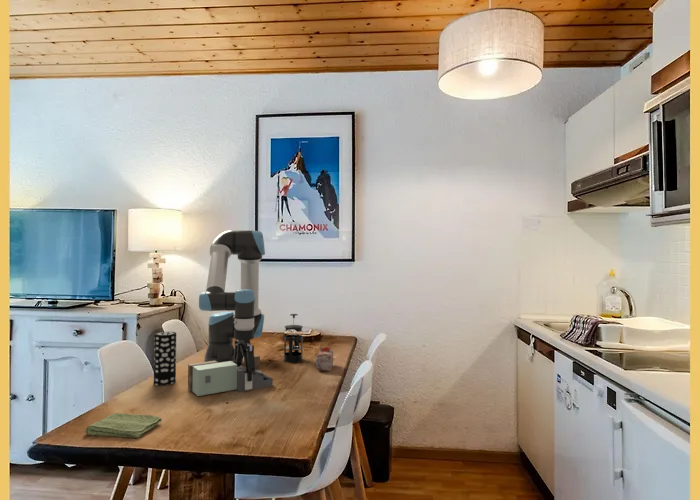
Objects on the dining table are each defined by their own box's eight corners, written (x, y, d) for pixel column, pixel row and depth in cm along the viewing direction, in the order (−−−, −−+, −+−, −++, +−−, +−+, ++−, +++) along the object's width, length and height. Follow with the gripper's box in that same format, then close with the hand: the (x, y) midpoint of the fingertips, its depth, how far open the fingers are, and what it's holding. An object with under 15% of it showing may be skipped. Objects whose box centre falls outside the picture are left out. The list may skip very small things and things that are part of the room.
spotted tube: (180, 381, 184) (180, 332, 184) (164, 386, 177) (164, 336, 177) (165, 378, 188) (166, 331, 188) (148, 383, 180) (149, 334, 180)
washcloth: (139, 441, 127) (139, 429, 127) (82, 437, 129) (82, 426, 129) (163, 423, 140) (164, 413, 140) (111, 420, 142) (111, 410, 142)
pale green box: (192, 391, 171) (192, 366, 171) (230, 384, 179) (230, 361, 179) (198, 396, 164) (199, 370, 164) (237, 389, 173) (238, 365, 173)
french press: (299, 363, 216) (299, 315, 216) (280, 362, 217) (281, 315, 217) (306, 357, 227) (306, 312, 227) (288, 356, 229) (288, 312, 229)
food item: (333, 372, 201) (333, 350, 201) (315, 372, 201) (315, 350, 201) (333, 364, 214) (333, 344, 214) (316, 364, 214) (317, 344, 214)
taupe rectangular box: (187, 390, 173) (188, 364, 173) (256, 378, 189) (256, 354, 189) (190, 392, 170) (190, 365, 170) (259, 380, 187) (259, 356, 187)
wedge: (234, 388, 176) (234, 368, 176) (267, 383, 184) (268, 363, 184) (238, 392, 172) (239, 371, 172) (272, 386, 180) (273, 366, 180)
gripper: (225, 325, 182) (224, 380, 182) (246, 334, 165) (245, 395, 164) (242, 324, 187) (241, 377, 187) (264, 332, 169) (264, 391, 169)
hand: (243, 386), depth 176 cm, fingers open, 9 cm apart
